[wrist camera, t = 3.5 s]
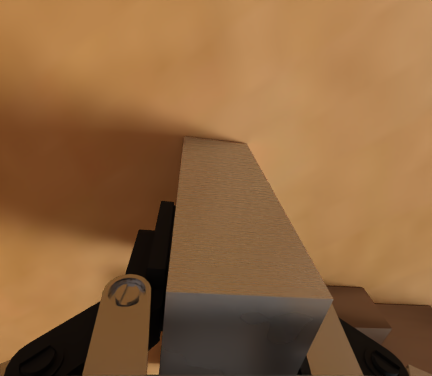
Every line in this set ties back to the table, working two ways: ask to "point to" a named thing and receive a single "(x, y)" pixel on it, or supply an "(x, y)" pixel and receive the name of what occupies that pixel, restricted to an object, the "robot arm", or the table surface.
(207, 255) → the tall grey box
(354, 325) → the post socket
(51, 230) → the table surface
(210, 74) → the table surface
